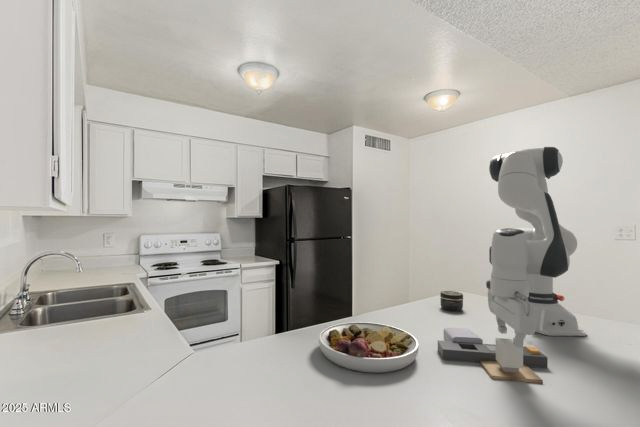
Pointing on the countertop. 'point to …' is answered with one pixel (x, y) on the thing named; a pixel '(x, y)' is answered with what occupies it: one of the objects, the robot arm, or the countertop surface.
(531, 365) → the power strip
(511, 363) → the charger
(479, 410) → the countertop surface
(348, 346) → the bowl
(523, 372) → the cork mat
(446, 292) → the jar
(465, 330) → the charger
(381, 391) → the countertop surface
